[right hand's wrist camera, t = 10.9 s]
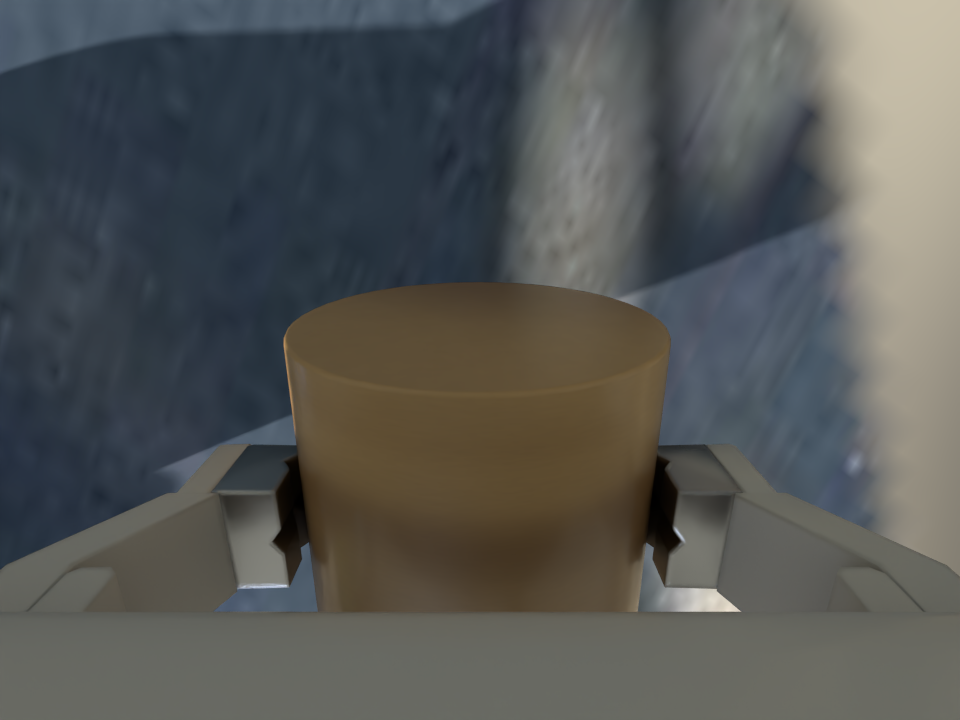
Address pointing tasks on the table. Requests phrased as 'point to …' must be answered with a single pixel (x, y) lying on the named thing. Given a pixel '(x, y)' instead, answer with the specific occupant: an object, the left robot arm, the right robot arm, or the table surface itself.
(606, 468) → the rod
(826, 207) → the table surface
